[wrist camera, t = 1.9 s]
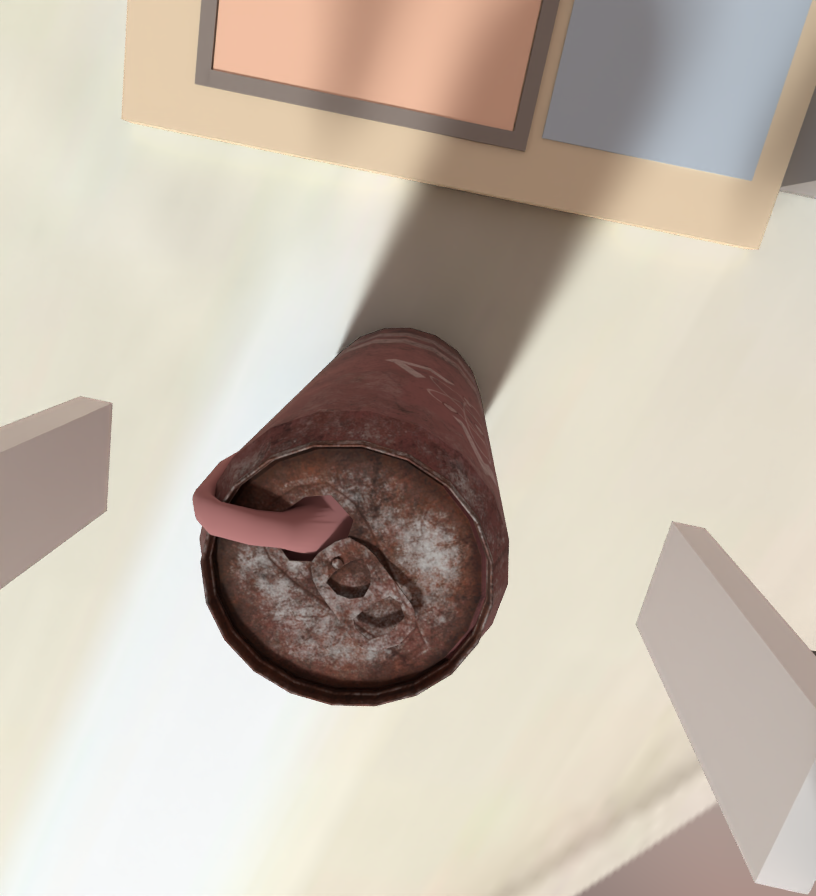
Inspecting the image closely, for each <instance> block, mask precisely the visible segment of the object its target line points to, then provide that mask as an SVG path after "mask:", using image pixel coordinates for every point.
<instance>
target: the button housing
mask: <svg viewBox="0 0 816 896" xmlns="http://www.w3.org/2000/svg"><path fill="white" fill-rule="evenodd" d="M779 191H781V192H786V193H791V194H796V195H801V196H806V197H811V198H815V199H816V86H815V89H814V92H813V95H812V98H811V101H810V103H809V106H808V109H807V112H806V115H805V118H804V121H803V124H802V126H801V129H800V132H799V135H798V138H797V141H796V144H795V147H794V149H793V152H792V155H791V158H790V161H789V164H788V167H787V170H786V172H785V175H784V178H783V181H782V184H781V187H780V190H779Z"/></svg>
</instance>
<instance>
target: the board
mask: <svg viewBox="0 0 816 896" xmlns="http://www.w3.org/2000/svg"><path fill="white" fill-rule="evenodd" d="M815 86H816V0H128V1H127V21H126V41H125V60H124V80H123V100H122V119H123V120H125V121H128V122H131V123H134V124H139V125H144V126H148V127H153V128H158V129H163V130H168V131H173V132H178V133H183V134H188V135H192V136H197V137H202V138H207V139H212V140H217V141H222V142H227V143H231V144H236V145H241V146H246V147H251V148H256V149H261V150H266V151H271V152H275V153H280V154H285V155H290V156H295V157H300V158H305V159H310V160H314V161H319V162H324V163H329V164H334V165H339V166H344V167H349V168H354V169H358V170H363V171H368V172H373V173H378V174H383V175H388V176H393V177H397V178H402V179H407V180H412V181H417V182H422V183H427V184H432V185H437V186H441V187H446V188H451V189H456V190H461V191H466V192H471V193H476V194H480V195H485V196H490V197H495V198H500V199H505V200H510V201H515V202H520V203H524V204H529V205H534V206H539V207H544V208H549V209H554V210H559V211H563V212H568V213H573V214H578V215H583V216H588V217H593V218H598V219H603V220H607V221H612V222H617V223H622V224H627V225H632V226H637V227H642V228H646V229H651V230H656V231H661V232H666V233H671V234H676V235H681V236H686V237H690V238H695V239H700V240H705V241H710V242H715V243H720V244H725V245H730V246H734V247H739V248H744V249H759V247H760V244H761V241H762V239H763V236H764V233H765V230H766V227H767V224H768V221H769V218H770V216H771V213H772V210H773V207H774V204H775V201H776V198H777V195H778V193H779V190H780V187H781V184H782V181H783V178H784V175H785V172H786V170H787V167H788V164H789V161H790V158H791V155H792V152H793V149H794V147H795V144H796V141H797V138H798V135H799V132H800V129H801V126H802V124H803V121H804V118H805V115H806V112H807V109H808V106H809V103H810V101H811V98H812V95H813V92H814V89H815Z"/></svg>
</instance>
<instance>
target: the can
mask: <svg viewBox="0 0 816 896" xmlns="http://www.w3.org/2000/svg"><path fill="white" fill-rule="evenodd" d="M193 505H194V511H195V516H196V519H197V520H198V522H199V523H200V524H201V525H202V529H201V534H200V545H201V553H202V557H201V570H202V577H203V584H204V592H205V599H206V604H207V606H208V608H209V610H210V612H211V614H212V616H213V618H214V620H215V622H216V624H217V626H218V628H219V630H220V632H221V634H222V636H223V638H224V640H225V641H226V642H227V643H228V644H229V645H230V646H231V648H232V649H233V650H234V651H235V652H236V653H237V654H238V655H239V656H240V657H241V658H242V659H243V660H244V661H245V662H246V663H247V665H248V666H249V667H250V668H251V669H252V670H253V671H254V672H256V673H258V674H259V675H261V676H263V677H264V678H266V679H268V680H269V681H271V682H273V683H274V684H276V685H278V686H279V687H281V688H283V689H284V690H286V691H288V692H289V693H291V694H295V695H298V696H302V697H305V698H309V699H312V700H316V701H319V702H323V703H326V704H329V705H343V706H378V705H382V704H386V703H389V702H393V701H397V700H401V699H405V698H409V697H413V696H416V695H418V694H420V693H421V692H423V691H425V690H426V689H428V688H430V687H431V686H433V685H435V684H436V683H438V682H440V681H441V680H443V679H445V678H446V677H448V676H450V675H451V674H452V673H453V672H454V671H455V670H456V669H457V668H458V666H459V665H460V664H461V663H462V662H463V661H464V659H465V658H466V657H467V656H468V655H469V654H470V652H471V651H472V650H473V649H474V648H475V647H476V645H477V644H478V643H479V640H480V638H481V637H482V636H483V634H484V633H485V632H486V631H487V630H488V629H489V628H490V626H491V625H492V623H493V621H494V618H495V616H496V613H497V611H498V608H499V605H500V603H501V600H502V598H503V595H504V593H505V590H506V588H507V585H508V555H509V538H508V532H507V527H506V522H505V517H504V512H503V507H502V502H501V497H500V492H499V487H498V482H497V477H496V472H495V467H494V462H493V457H492V452H491V447H490V442H489V437H488V432H487V427H486V422H485V417H484V411H483V406H482V401H481V396H480V393H479V390H478V387H477V384H476V381H475V378H474V375H473V372H472V370H471V369H470V367H469V366H468V365H467V363H466V362H465V361H464V359H463V358H462V357H461V355H460V354H459V353H458V351H457V350H455V349H454V348H452V347H451V346H450V345H448V344H447V343H445V342H444V341H442V340H441V339H440V338H438V337H437V336H435V335H432V334H428V333H425V332H422V331H419V330H415V329H412V328H387V329H382V330H379V331H376V332H373V333H370V334H368V335H365V336H362V337H360V338H358V339H357V340H356V341H355V342H353V343H352V344H351V345H349V346H348V347H347V348H346V349H344V350H343V351H342V352H341V353H339V354H338V355H337V356H336V357H335V358H334V359H333V360H332V361H331V362H330V363H329V364H328V365H327V366H326V367H325V368H324V369H323V370H322V371H321V372H320V373H319V374H318V375H317V376H316V377H315V378H314V379H313V380H312V381H311V382H310V383H309V384H308V385H306V386H305V387H304V388H303V389H302V390H301V391H300V392H299V393H298V394H297V395H296V396H295V397H294V398H293V399H292V400H291V401H290V402H289V403H288V404H287V405H286V406H285V407H284V408H283V409H282V410H281V411H280V412H279V413H278V414H277V415H276V416H275V417H274V418H273V419H271V420H270V421H269V422H268V423H267V424H266V425H265V426H264V427H263V428H262V429H261V430H260V431H259V432H258V433H257V434H256V435H255V436H254V437H253V438H252V439H251V440H250V441H249V442H248V443H247V444H246V445H245V446H244V447H243V448H242V449H241V450H240V451H238V452H236V453H235V454H233V455H231V456H230V457H228V458H226V459H224V460H223V461H221V462H220V463H219V464H218V465H217V466H216V467H215V468H214V470H213V471H212V472H211V473H210V474H209V475H208V477H207V478H206V479H205V480H204V481H203V482H202V484H201V485H200V486H199V487H198V488H197V489H196V491H195V492H194V495H193Z"/></svg>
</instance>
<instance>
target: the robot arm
mask: <svg viewBox="0 0 816 896" xmlns="http://www.w3.org/2000/svg"><path fill="white" fill-rule="evenodd" d="M111 422H112V403H110V402H106V401H101V400H96V399H91V398H87V397H82V396H80V397H77V398H74V399H72V400H69V401H67V402H64V403H62V404H59V405H56V406H54V407H51V408H49V409H46V410H44V411H41V412H38V413H36V414H33V415H31V416H28V417H26V418H23V419H20V420H18V421H15V422H13V423H10V424H7V425H5V426H2V427H0V589H1V588H3V587H4V586H5V585H7V584H8V583H9V582H11V581H12V580H14V579H15V578H16V577H18V576H19V575H20V574H22V573H23V572H24V571H26V570H27V569H28V568H30V567H31V566H32V565H34V564H35V563H37V562H38V561H39V560H41V559H42V558H43V557H45V556H46V555H47V554H49V553H50V552H51V551H53V550H54V549H55V548H57V547H58V546H60V545H61V544H62V543H64V542H65V541H66V540H68V539H69V538H70V537H72V536H73V535H74V534H76V533H77V532H78V531H80V530H81V529H83V528H84V527H85V526H87V525H88V524H89V523H91V522H92V521H93V520H95V519H96V518H97V517H99V516H100V515H102V514H103V513H104V512H106V511H107V496H108V478H109V459H110V440H111ZM636 626H637V628H638V630H639V632H640V635H641V637H642V639H643V641H644V643H645V645H646V648H647V650H648V652H649V654H650V656H651V658H652V661H653V663H654V665H655V667H656V669H657V672H658V674H659V676H660V678H661V680H662V682H663V685H664V687H665V689H666V691H667V693H668V695H669V698H670V700H671V702H672V704H673V706H674V708H675V711H676V713H677V715H678V717H679V719H680V721H681V724H682V726H683V728H684V730H685V732H686V734H687V737H688V739H689V741H690V743H691V745H692V747H693V750H694V752H695V754H696V756H697V758H698V761H699V763H700V765H701V767H702V769H703V771H704V774H705V776H706V778H707V780H708V782H709V784H710V787H711V789H712V791H713V793H714V795H715V797H716V800H717V802H718V804H719V806H720V808H721V810H722V813H723V815H724V817H725V819H726V821H727V823H728V826H729V828H730V830H731V832H732V834H733V836H734V838H735V841H736V843H737V845H738V847H739V850H740V852H741V854H742V856H743V858H744V860H745V863H746V864H747V867H748V869H749V871H750V873H751V876H752V878H753V880H754V882H755V883H758V884H762V885H767V886H771V887H776V888H780V889H785V890H789V891H794V892H798V893H803V894H809V892H810V890H811V888H812V886H813V884H814V882H815V881H816V651H811V650H810V649H809V648H808V647H807V645H806V644H805V643H804V642H803V641H802V640H801V638H800V637H799V636H798V635H797V634H796V633H795V632H794V630H793V629H792V628H791V627H790V626H789V625H788V623H787V622H786V621H785V620H784V619H783V618H782V617H781V615H780V614H779V613H778V612H777V611H776V610H775V608H774V607H773V606H772V605H771V604H770V603H769V602H768V600H767V599H766V598H765V597H764V596H763V595H762V593H761V592H760V591H759V590H758V589H757V588H756V586H755V585H754V584H753V583H752V582H751V581H750V580H749V578H748V577H747V576H746V575H745V574H744V573H743V571H742V570H741V569H740V568H739V567H738V566H737V565H736V563H735V562H734V561H733V560H732V559H731V558H730V556H729V555H728V554H727V553H726V552H725V551H724V550H723V548H722V547H721V546H720V545H719V544H718V543H717V541H716V540H715V539H714V538H713V537H712V536H711V535H710V533H709V532H708V531H707V530H706V529H705V528H701V527H696V526H692V525H687V524H682V523H677V522H673V521H672V523H671V526H670V528H669V531H668V534H667V537H666V540H665V543H664V545H663V548H662V551H661V554H660V557H659V560H658V562H657V565H656V568H655V571H654V574H653V577H652V579H651V582H650V585H649V588H648V591H647V594H646V596H645V599H644V602H643V605H642V608H641V611H640V614H639V616H638V619H637V622H636Z"/></svg>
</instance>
